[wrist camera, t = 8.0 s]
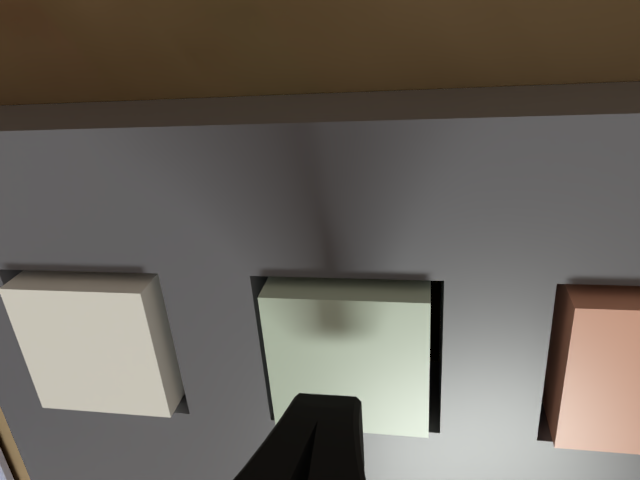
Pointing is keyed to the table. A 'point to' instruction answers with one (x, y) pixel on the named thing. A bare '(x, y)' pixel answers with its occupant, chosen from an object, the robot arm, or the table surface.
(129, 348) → the off-white button
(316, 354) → the sage button
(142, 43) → the table surface
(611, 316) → the terracotta button
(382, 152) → the button panel
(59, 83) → the table surface
